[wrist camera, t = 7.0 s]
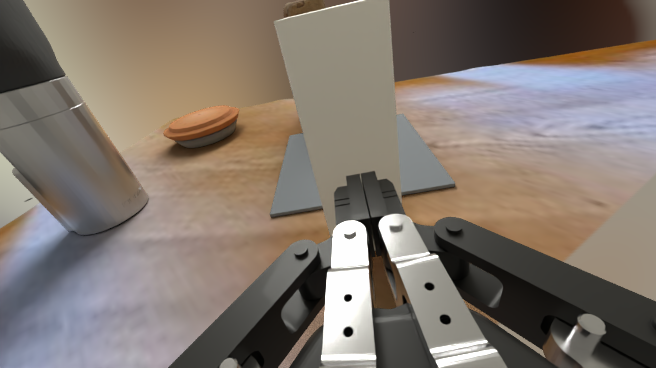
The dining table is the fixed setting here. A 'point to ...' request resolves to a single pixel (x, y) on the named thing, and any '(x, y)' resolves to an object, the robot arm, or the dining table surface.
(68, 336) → the dining table surface
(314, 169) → the tall cream block
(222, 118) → the pie
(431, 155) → the mat
